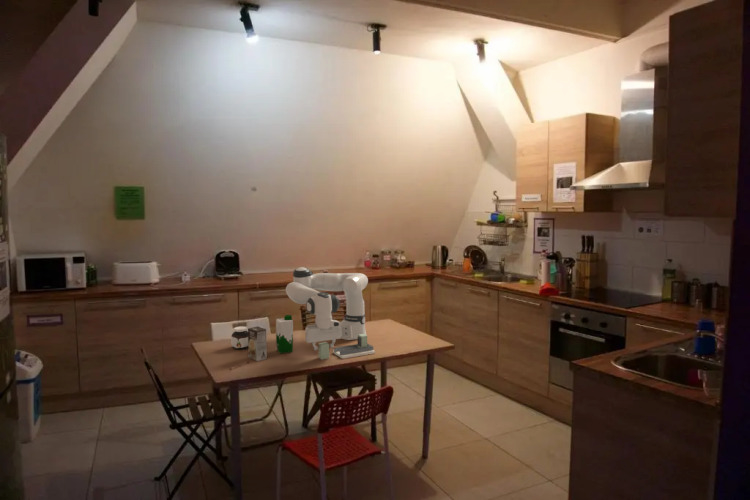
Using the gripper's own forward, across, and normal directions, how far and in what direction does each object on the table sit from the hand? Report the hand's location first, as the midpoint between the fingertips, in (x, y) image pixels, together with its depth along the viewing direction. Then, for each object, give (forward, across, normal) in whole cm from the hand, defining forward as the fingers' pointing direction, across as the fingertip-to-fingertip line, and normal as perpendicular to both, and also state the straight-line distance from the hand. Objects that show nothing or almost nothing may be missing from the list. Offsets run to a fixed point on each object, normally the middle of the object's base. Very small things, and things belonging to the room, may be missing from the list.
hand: (323, 348), depth 271 cm
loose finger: (+5, 0, 0) cm, 5 cm away
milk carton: (+5, -14, +22) cm, 27 cm away
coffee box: (+6, -31, +17) cm, 36 cm away
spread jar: (+6, -32, +40) cm, 52 cm away
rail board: (+5, +18, 0) cm, 19 cm away
